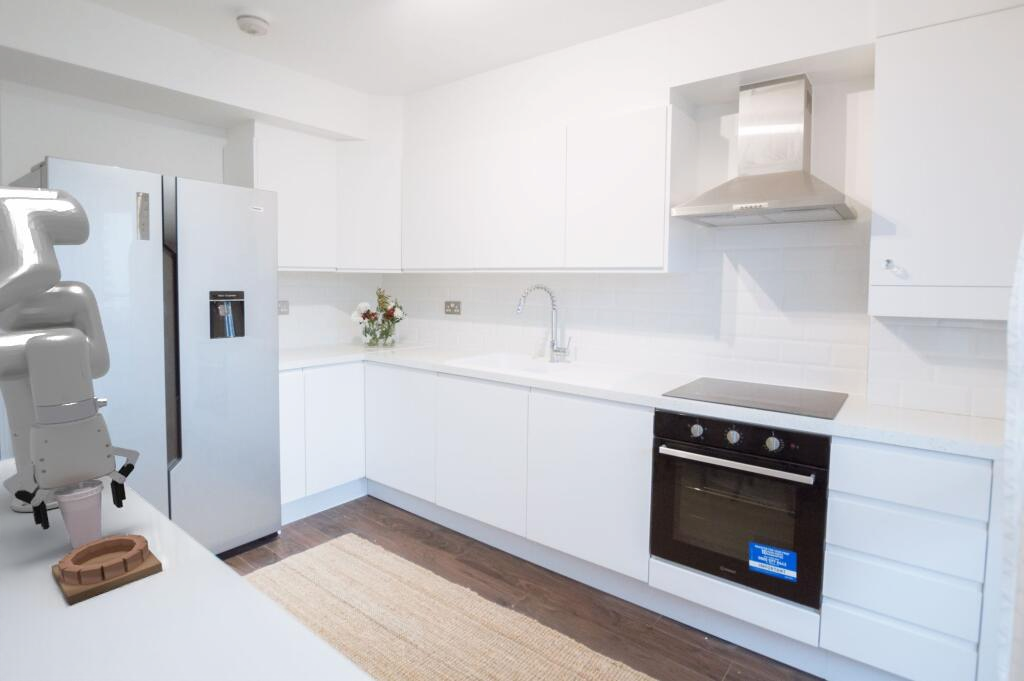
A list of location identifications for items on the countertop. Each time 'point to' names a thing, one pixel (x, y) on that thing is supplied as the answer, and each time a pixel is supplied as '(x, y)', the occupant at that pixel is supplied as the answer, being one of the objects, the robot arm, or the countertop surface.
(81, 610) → the countertop surface
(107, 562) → the ring board
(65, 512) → the smoothie
